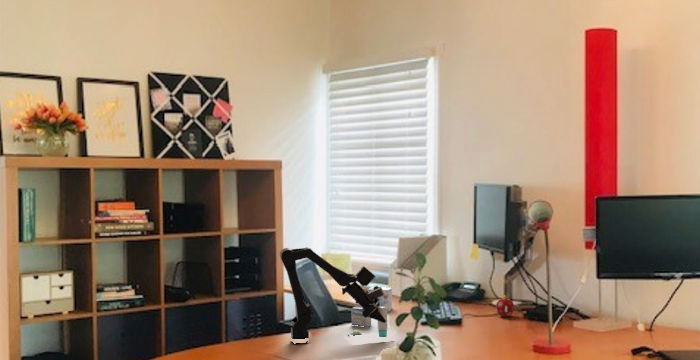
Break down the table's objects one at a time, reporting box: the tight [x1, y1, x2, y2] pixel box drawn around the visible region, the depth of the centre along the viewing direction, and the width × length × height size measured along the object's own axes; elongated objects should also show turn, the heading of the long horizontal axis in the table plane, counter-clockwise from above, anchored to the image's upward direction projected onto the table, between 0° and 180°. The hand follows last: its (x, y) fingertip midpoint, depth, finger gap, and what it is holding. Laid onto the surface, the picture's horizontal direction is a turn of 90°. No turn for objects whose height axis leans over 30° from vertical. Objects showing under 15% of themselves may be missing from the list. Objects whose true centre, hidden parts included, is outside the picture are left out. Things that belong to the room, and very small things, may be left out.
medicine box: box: [350, 306, 372, 328], centre depth 346 cm, size 8×4×9 cm, turn 62°
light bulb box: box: [367, 286, 393, 312], centre depth 381 cm, size 11×7×11 cm, turn 73°
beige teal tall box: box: [377, 306, 388, 337], centre depth 324 cm, size 4×4×12 cm
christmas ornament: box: [495, 294, 516, 318], centre depth 359 cm, size 9×9×10 cm
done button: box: [352, 329, 360, 335], centre depth 326 cm, size 3×3×2 cm
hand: (385, 320), depth 324 cm, fingers closed on beige teal tall box, 4 cm apart
